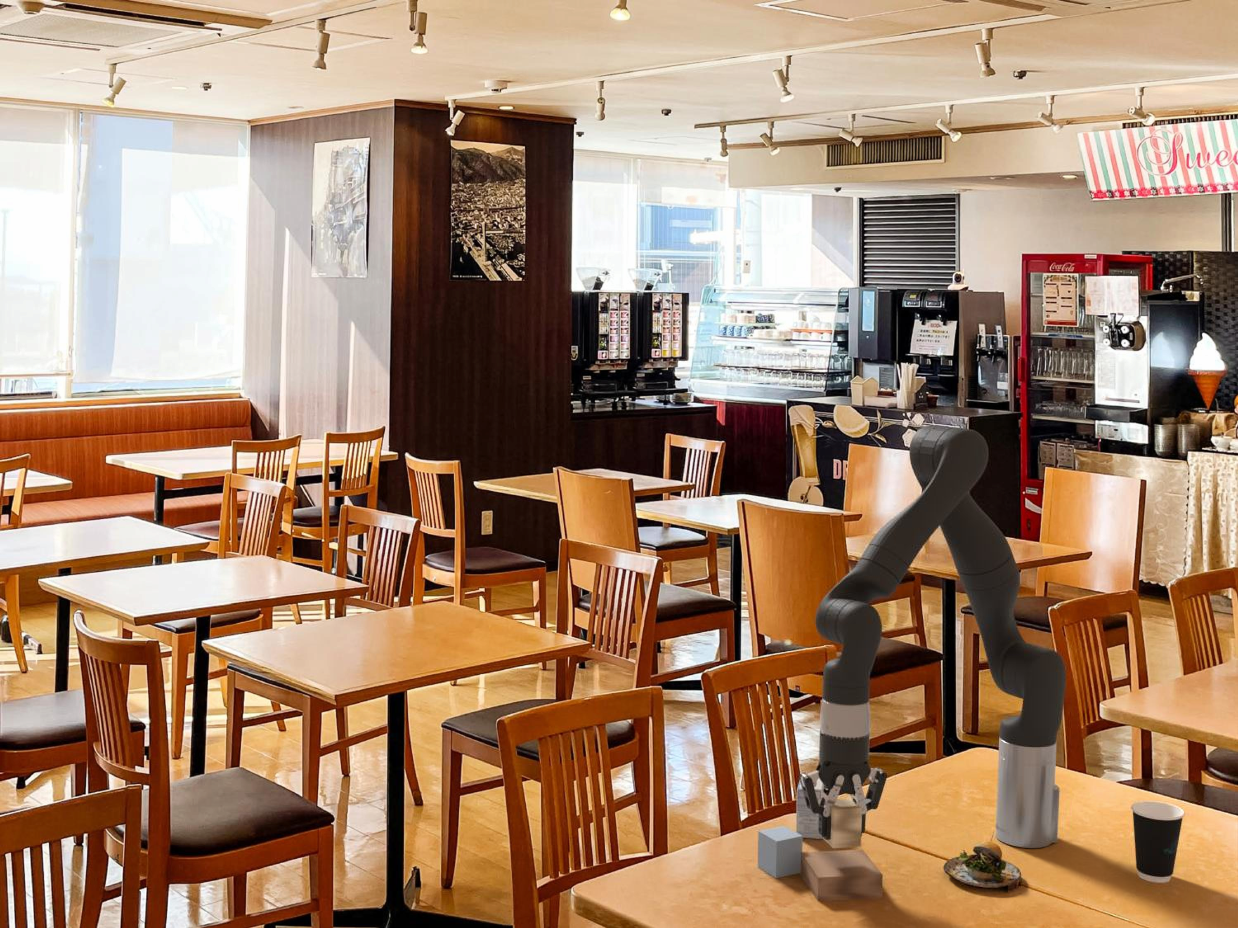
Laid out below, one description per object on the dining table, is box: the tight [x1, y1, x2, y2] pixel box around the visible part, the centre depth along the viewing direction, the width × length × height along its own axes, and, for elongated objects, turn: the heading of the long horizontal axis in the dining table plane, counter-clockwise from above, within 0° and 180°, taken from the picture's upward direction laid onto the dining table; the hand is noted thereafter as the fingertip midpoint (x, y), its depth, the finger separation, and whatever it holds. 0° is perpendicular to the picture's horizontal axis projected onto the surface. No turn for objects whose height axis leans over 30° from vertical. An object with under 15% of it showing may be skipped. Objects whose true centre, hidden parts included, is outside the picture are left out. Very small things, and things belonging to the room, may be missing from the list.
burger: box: [943, 830, 1023, 893], centre depth 219 cm, size 12×12×8 cm
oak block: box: [822, 797, 862, 849], centre depth 215 cm, size 4×4×6 cm
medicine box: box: [795, 778, 823, 840], centre depth 238 cm, size 8×4×9 cm, turn 168°
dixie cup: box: [1130, 800, 1186, 884], centre depth 220 cm, size 8×8×11 cm
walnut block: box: [799, 849, 884, 902], centre depth 216 cm, size 10×10×4 cm
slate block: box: [757, 825, 804, 879], centre depth 222 cm, size 5×5×6 cm
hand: (841, 836), depth 215 cm, fingers closed on oak block, 4 cm apart
